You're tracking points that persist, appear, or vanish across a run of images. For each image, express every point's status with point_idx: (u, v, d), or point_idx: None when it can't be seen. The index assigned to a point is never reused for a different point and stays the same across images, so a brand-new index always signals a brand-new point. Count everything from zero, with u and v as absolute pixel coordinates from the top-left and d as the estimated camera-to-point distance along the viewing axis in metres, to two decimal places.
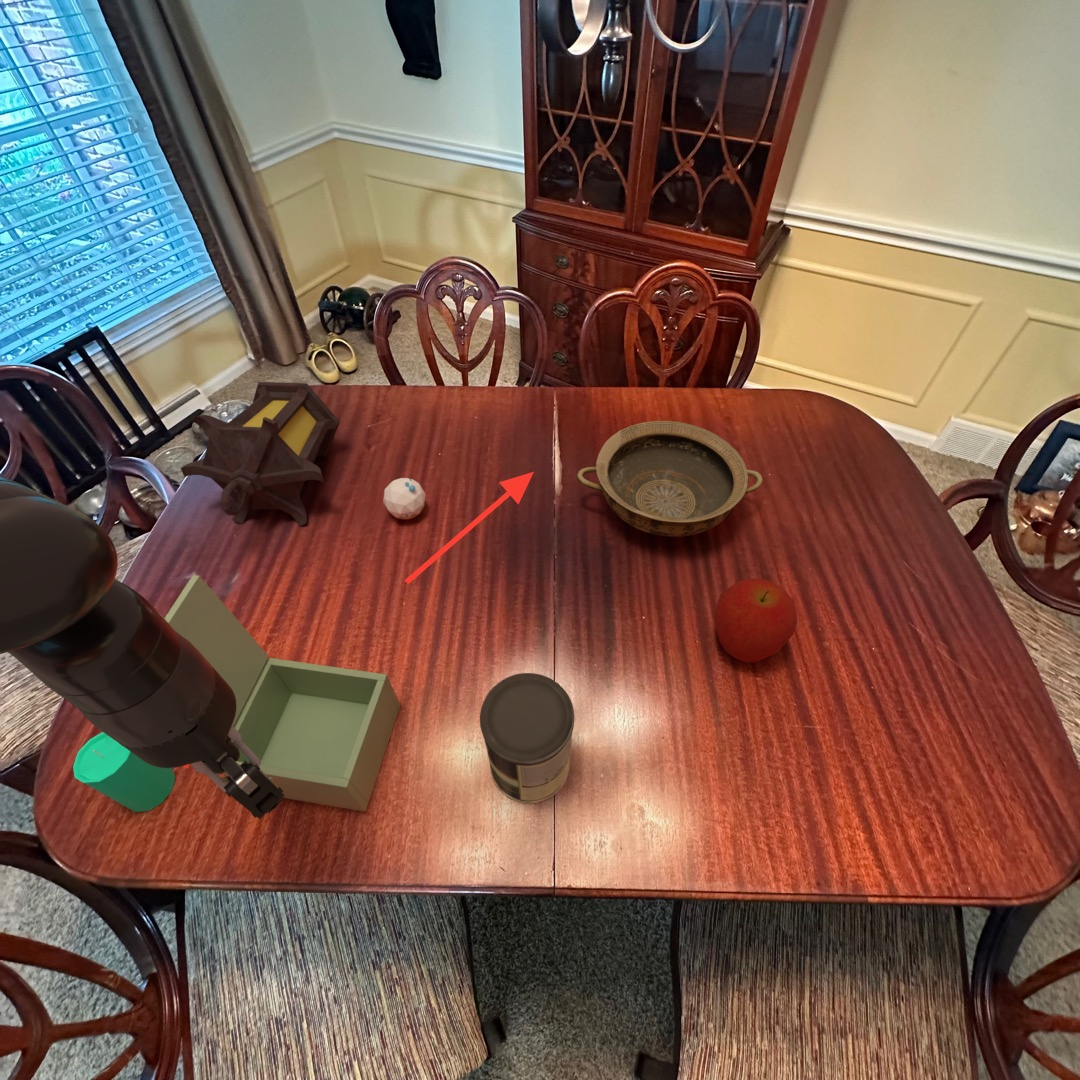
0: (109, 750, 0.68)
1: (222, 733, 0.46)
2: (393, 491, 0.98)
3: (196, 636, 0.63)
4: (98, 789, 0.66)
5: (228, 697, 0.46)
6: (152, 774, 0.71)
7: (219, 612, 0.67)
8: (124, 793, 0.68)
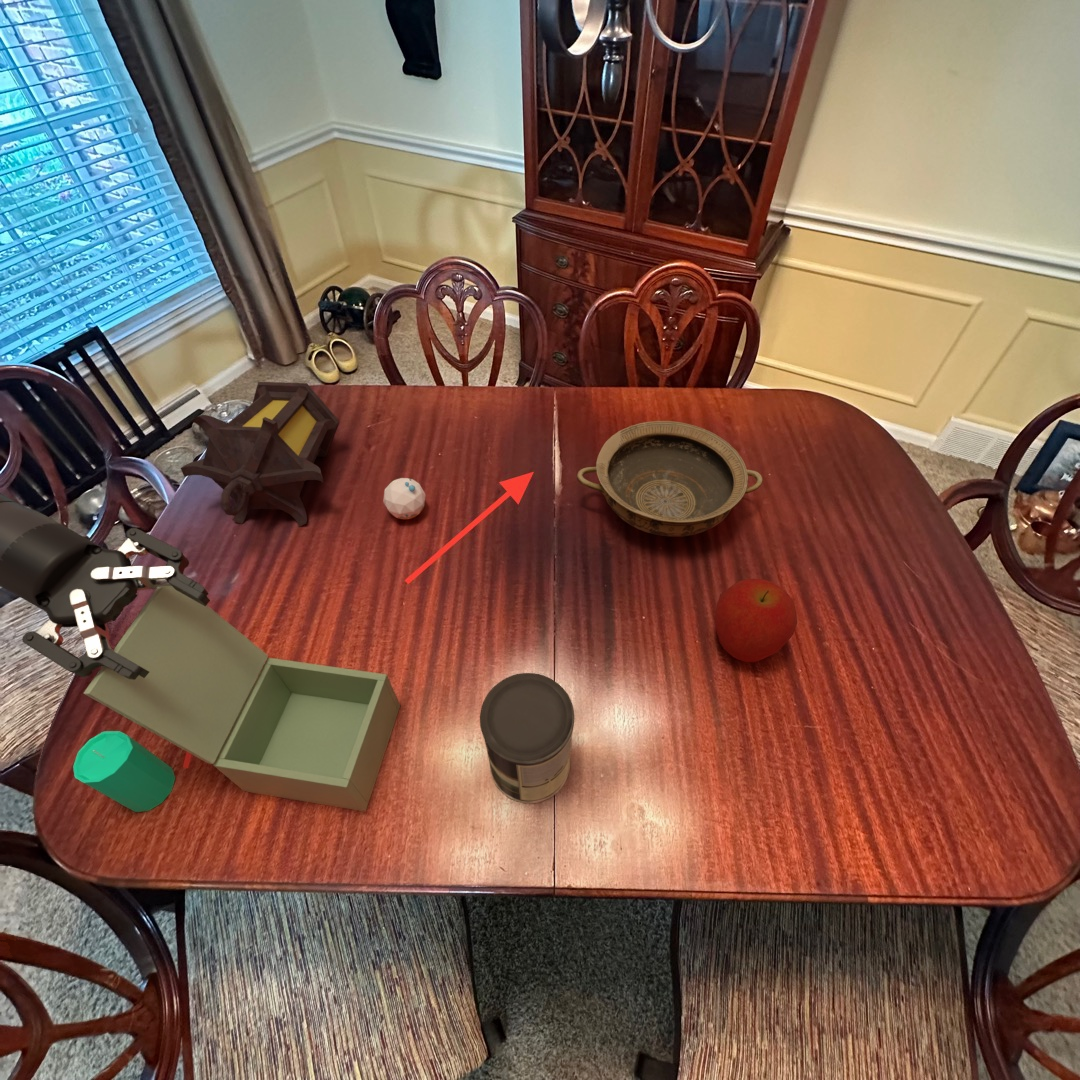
0: (109, 750, 0.68)
1: None
2: (393, 491, 0.98)
3: (174, 635, 0.64)
4: (98, 789, 0.66)
5: None
6: (152, 774, 0.71)
7: (200, 611, 0.67)
8: (124, 793, 0.68)
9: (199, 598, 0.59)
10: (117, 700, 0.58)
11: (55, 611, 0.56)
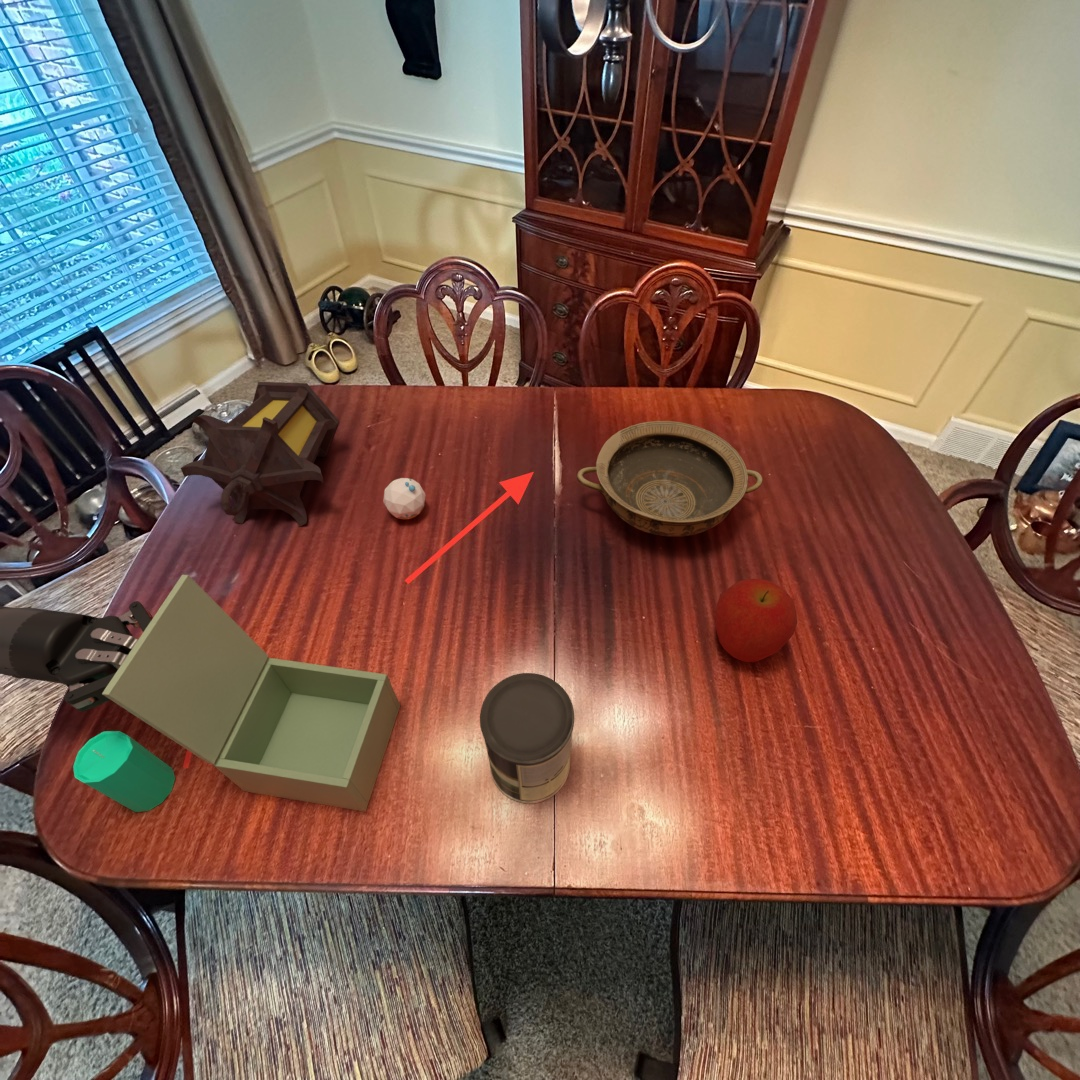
0: (109, 750, 0.68)
1: None
2: (393, 491, 0.98)
3: (188, 635, 0.63)
4: (98, 789, 0.66)
5: None
6: (152, 774, 0.71)
7: (212, 611, 0.67)
8: (124, 793, 0.68)
9: None
10: (133, 701, 0.57)
11: (66, 674, 0.62)
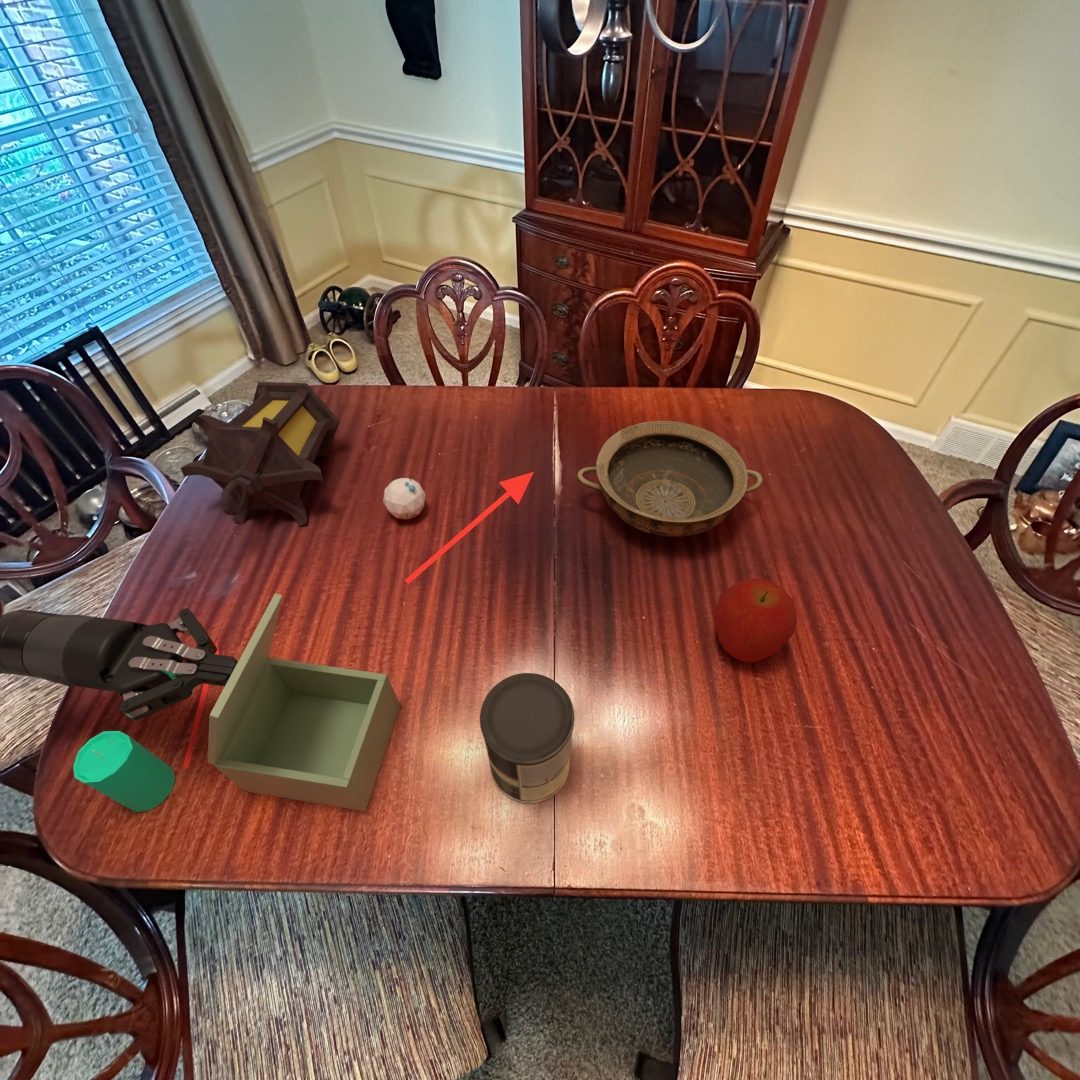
0: (109, 750, 0.68)
1: None
2: (393, 491, 0.98)
3: (258, 651, 0.64)
4: (98, 789, 0.66)
5: None
6: (152, 774, 0.71)
7: (273, 625, 0.67)
8: (124, 793, 0.68)
9: (232, 666, 0.63)
10: (221, 720, 0.57)
11: (119, 682, 0.62)
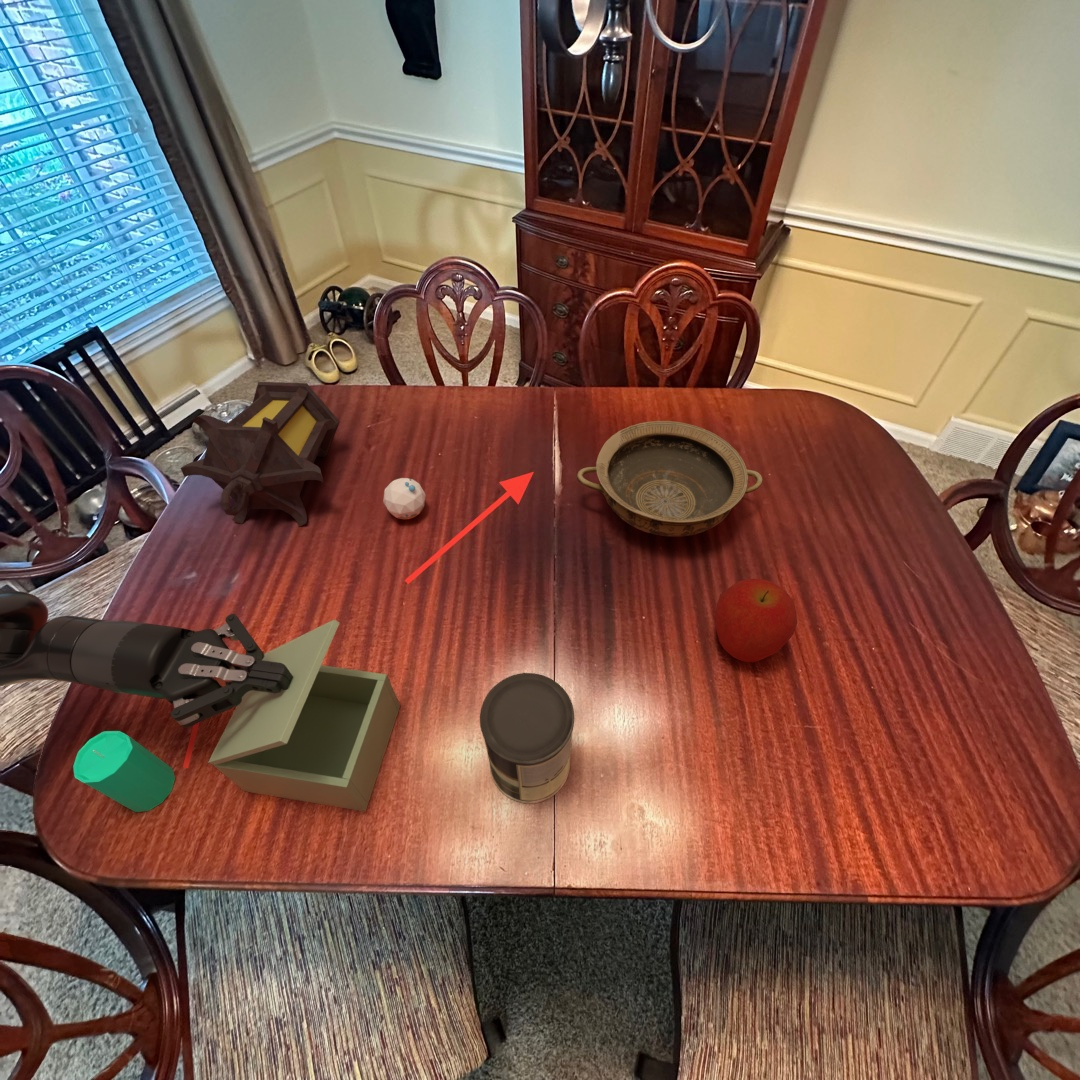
0: (109, 750, 0.68)
1: None
2: (393, 491, 0.98)
3: None
4: (98, 789, 0.66)
5: None
6: (152, 774, 0.71)
7: None
8: (124, 793, 0.68)
9: (283, 673, 0.62)
10: None
11: (169, 689, 0.61)
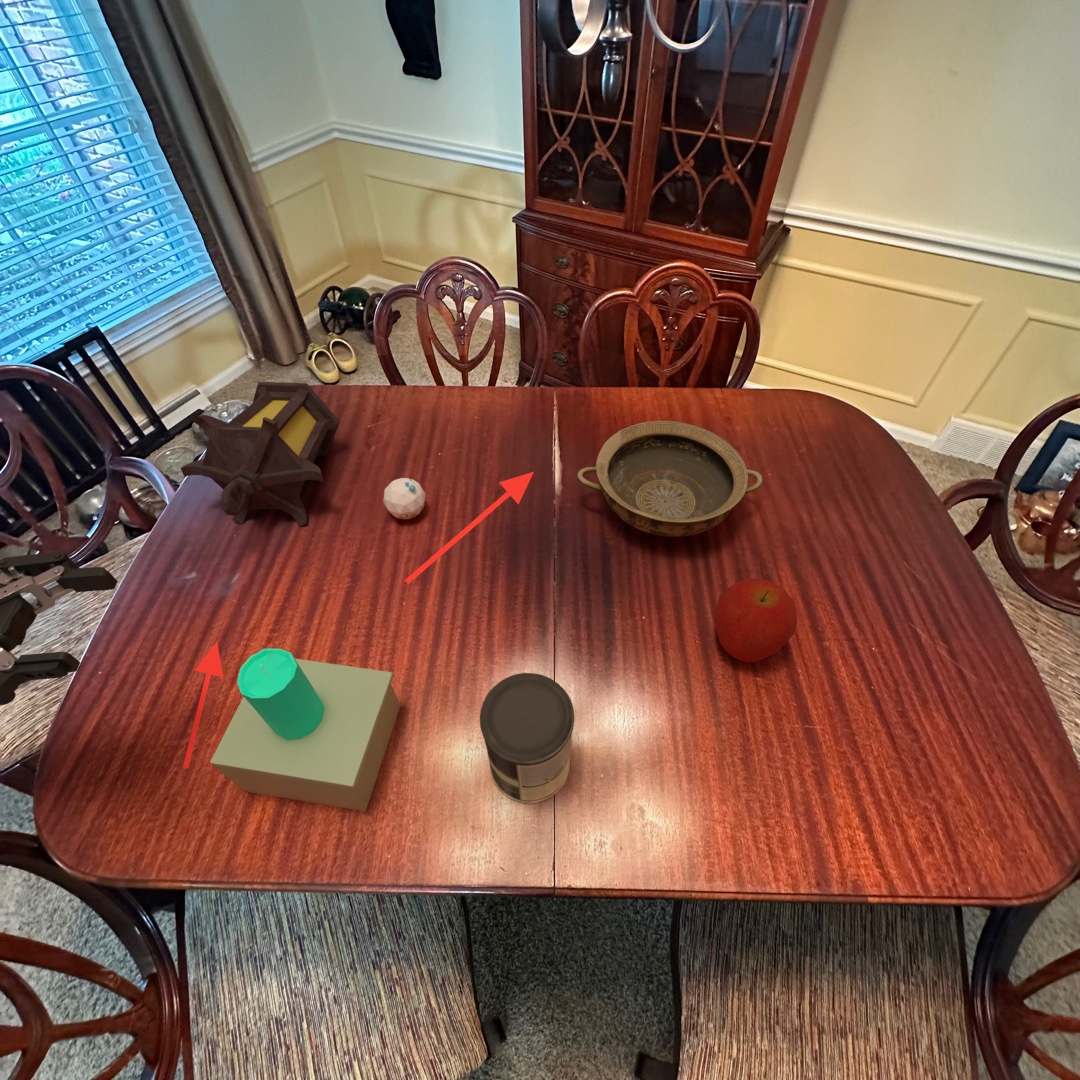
0: (273, 668, 0.63)
1: None
2: (393, 491, 0.98)
3: None
4: (263, 708, 0.62)
5: None
6: (310, 698, 0.66)
7: None
8: (286, 715, 0.64)
9: (102, 574, 0.55)
10: None
11: None
